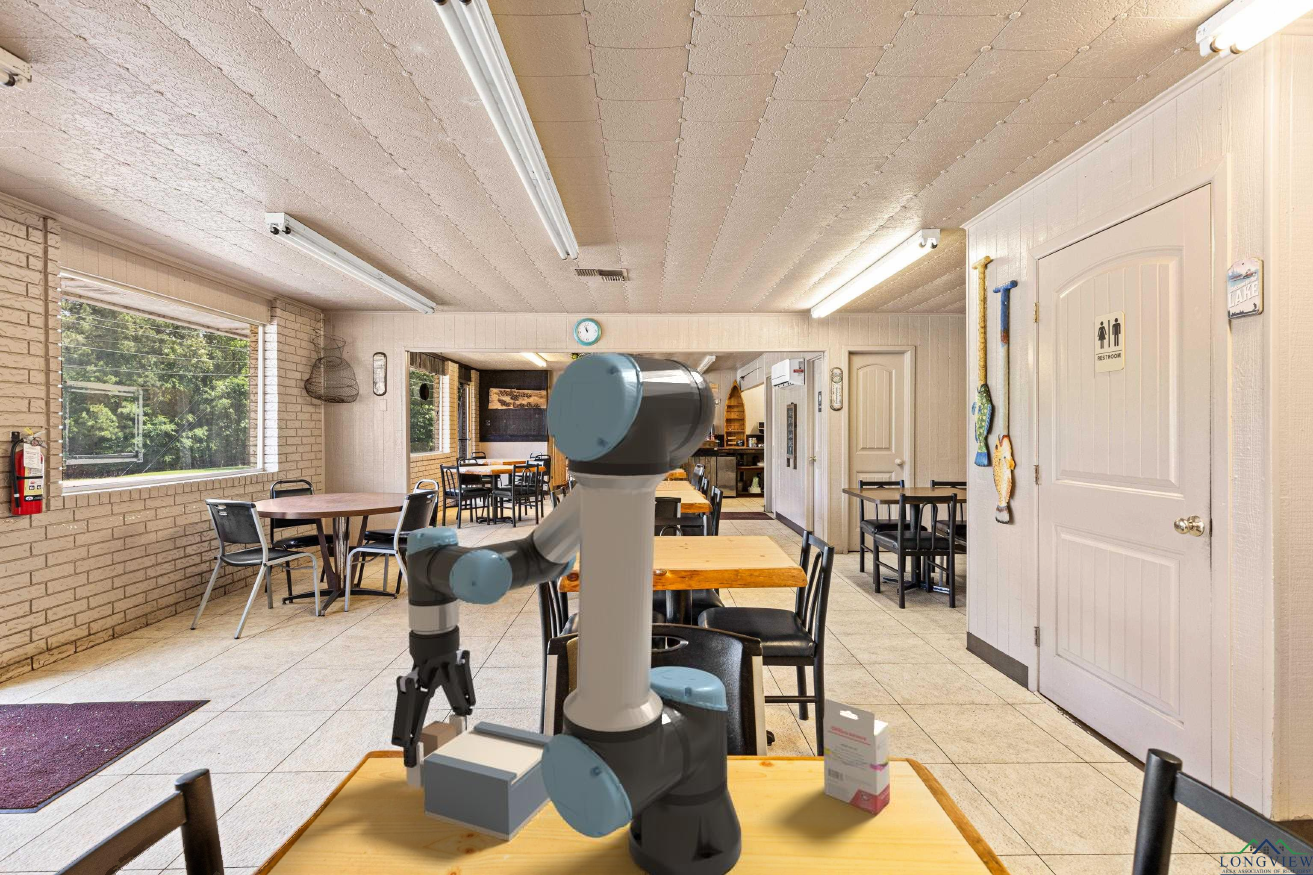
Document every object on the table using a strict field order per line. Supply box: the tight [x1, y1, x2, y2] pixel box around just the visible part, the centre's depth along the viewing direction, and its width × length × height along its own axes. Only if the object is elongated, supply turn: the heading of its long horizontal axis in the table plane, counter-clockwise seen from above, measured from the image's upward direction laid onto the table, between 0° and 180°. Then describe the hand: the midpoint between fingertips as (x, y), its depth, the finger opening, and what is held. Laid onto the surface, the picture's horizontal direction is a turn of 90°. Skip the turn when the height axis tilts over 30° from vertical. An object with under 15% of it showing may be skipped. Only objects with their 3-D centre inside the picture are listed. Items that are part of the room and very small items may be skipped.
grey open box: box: [423, 720, 554, 842], centre depth 96 cm, size 15×13×8 cm
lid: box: [419, 720, 545, 785], centre depth 98 cm, size 20×11×4 cm, turn 66°
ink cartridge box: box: [822, 698, 891, 815], centre depth 96 cm, size 9×5×15 cm, turn 47°
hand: (437, 769), depth 101 cm, fingers open, 9 cm apart
